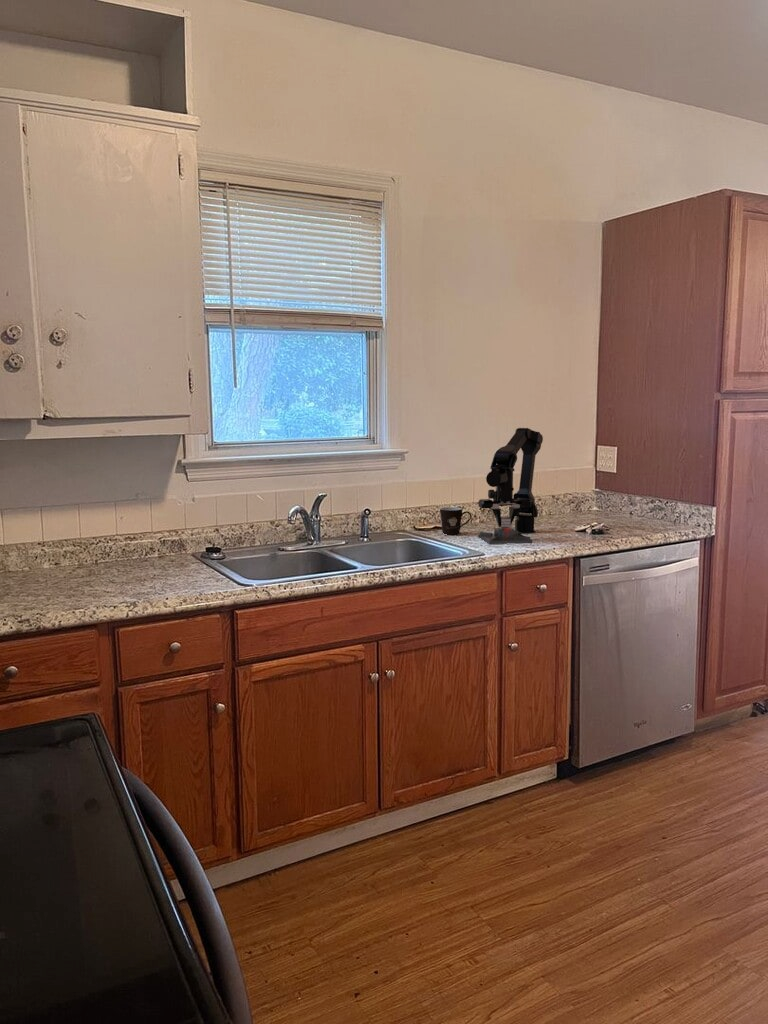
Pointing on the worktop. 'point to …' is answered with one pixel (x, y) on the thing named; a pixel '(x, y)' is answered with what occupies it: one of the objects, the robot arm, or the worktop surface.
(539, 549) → the worktop surface
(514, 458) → the robot arm
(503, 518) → the column
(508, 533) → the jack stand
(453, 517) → the coffee mug
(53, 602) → the worktop surface
